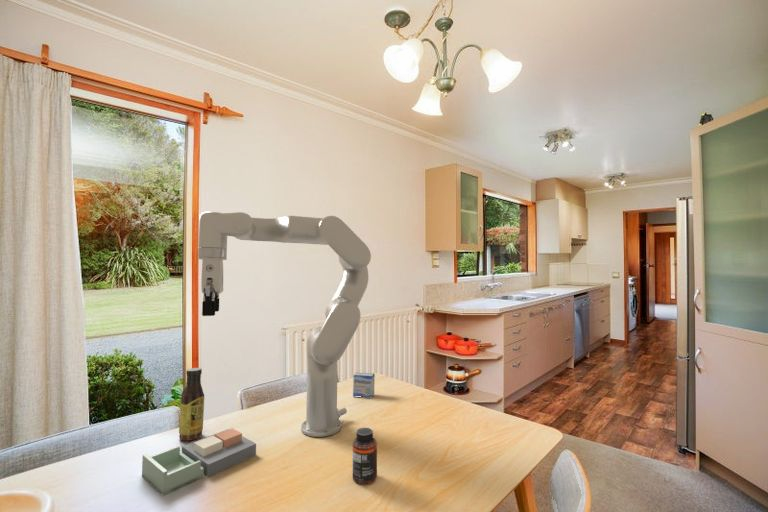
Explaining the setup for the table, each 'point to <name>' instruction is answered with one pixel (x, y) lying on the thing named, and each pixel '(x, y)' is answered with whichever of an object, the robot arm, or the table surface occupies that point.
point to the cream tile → (208, 445)
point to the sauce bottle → (192, 407)
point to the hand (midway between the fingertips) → (210, 313)
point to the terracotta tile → (229, 437)
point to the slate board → (222, 455)
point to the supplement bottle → (364, 457)
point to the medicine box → (363, 384)
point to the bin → (170, 470)
